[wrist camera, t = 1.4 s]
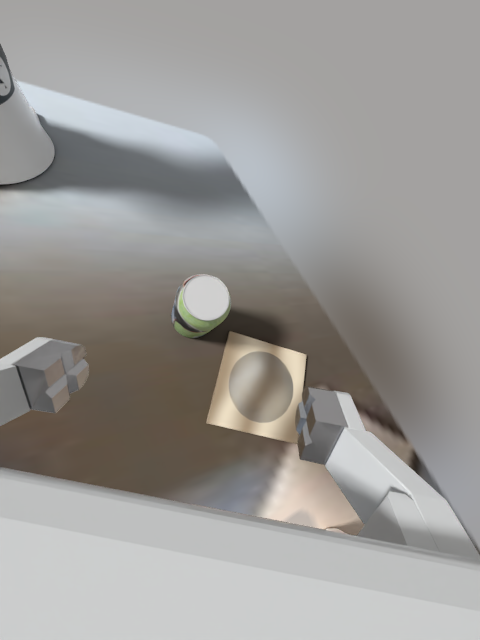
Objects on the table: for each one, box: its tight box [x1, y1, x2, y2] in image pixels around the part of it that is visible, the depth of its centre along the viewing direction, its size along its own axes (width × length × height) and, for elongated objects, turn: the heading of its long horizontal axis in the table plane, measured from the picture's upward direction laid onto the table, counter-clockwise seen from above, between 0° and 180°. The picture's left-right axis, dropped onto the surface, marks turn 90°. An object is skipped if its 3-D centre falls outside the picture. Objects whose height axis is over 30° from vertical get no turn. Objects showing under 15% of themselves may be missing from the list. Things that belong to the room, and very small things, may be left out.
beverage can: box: [171, 274, 231, 338], centre depth 31 cm, size 6×7×12 cm
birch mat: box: [206, 331, 306, 444], centre depth 35 cm, size 13×13×1 cm
